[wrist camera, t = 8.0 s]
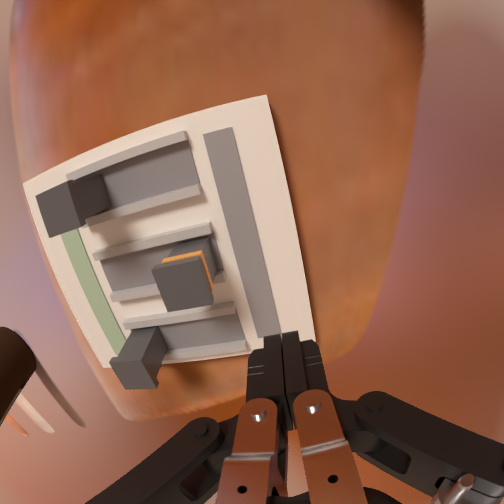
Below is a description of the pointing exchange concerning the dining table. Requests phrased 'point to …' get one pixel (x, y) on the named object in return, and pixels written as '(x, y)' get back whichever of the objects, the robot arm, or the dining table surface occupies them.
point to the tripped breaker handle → (187, 276)
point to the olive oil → (13, 368)
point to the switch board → (176, 239)
